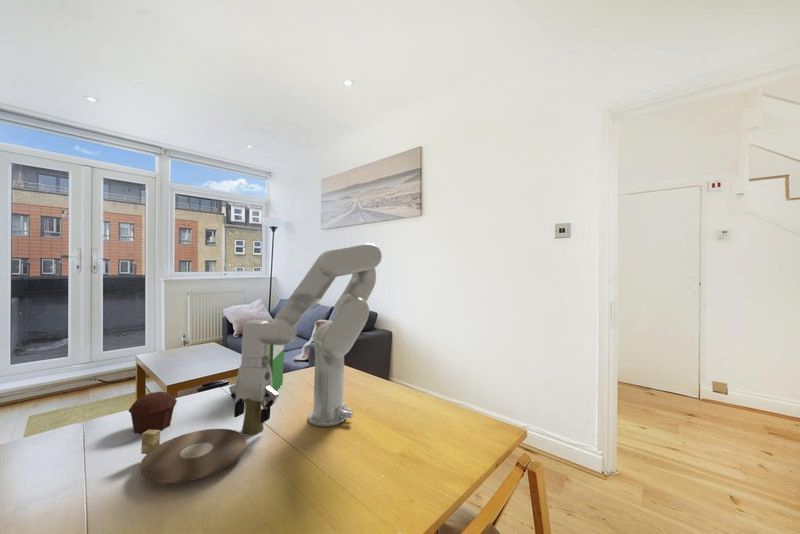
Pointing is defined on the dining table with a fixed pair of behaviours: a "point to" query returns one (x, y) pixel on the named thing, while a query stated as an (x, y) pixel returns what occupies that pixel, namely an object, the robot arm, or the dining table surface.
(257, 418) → the cork
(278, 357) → the hardback book
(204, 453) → the turntable
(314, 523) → the dining table surface
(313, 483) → the dining table surface
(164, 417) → the muffin
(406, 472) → the dining table surface
